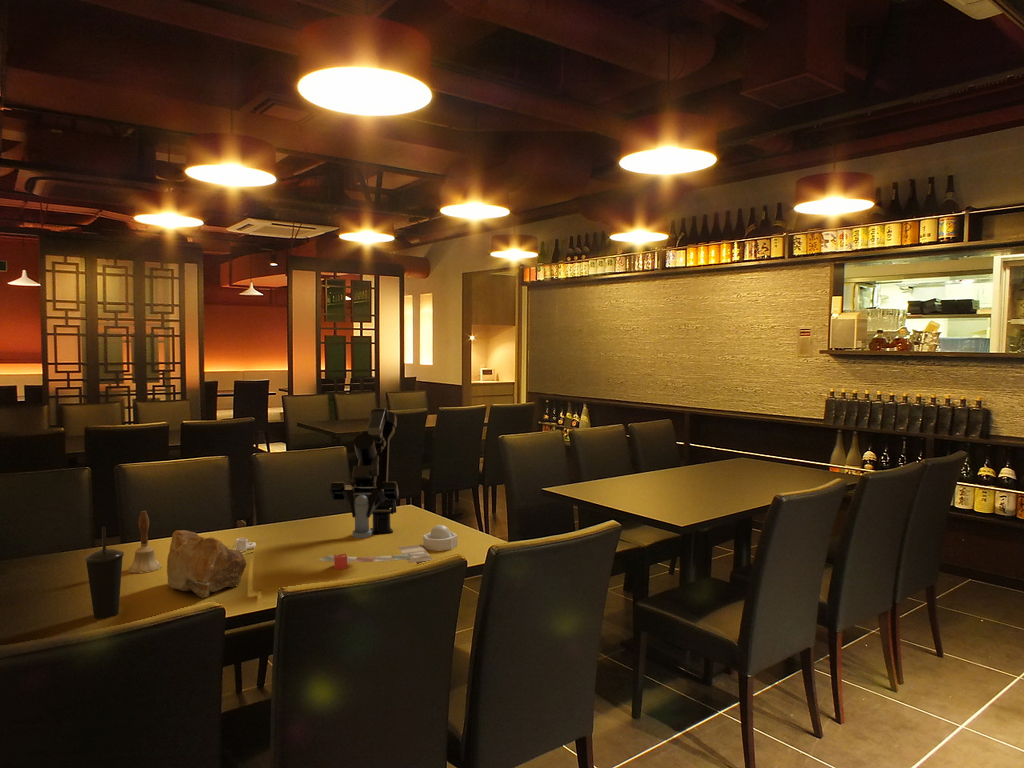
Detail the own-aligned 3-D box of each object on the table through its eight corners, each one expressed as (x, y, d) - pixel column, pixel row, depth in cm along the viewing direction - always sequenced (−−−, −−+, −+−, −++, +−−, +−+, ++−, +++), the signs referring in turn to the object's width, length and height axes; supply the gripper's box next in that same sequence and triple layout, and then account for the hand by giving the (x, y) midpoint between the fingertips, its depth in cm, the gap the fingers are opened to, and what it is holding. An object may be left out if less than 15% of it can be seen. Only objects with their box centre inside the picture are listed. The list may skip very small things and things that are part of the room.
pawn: (349, 534, 194) (348, 494, 194) (366, 532, 197) (366, 492, 197) (357, 539, 190) (356, 497, 189) (374, 536, 193) (374, 495, 192)
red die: (333, 566, 188) (333, 554, 188) (345, 565, 189) (345, 553, 189) (335, 569, 185) (334, 557, 185) (347, 568, 186) (347, 556, 186)
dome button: (426, 542, 213) (425, 523, 213) (448, 540, 216) (448, 521, 215) (431, 549, 206) (431, 529, 206) (455, 546, 209) (454, 527, 209)
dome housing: (421, 543, 214) (421, 533, 214) (451, 540, 217) (451, 530, 217) (428, 551, 205) (428, 541, 205) (459, 548, 208) (459, 538, 208)
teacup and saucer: (252, 546, 212) (251, 533, 212) (263, 552, 207) (263, 538, 207) (223, 552, 206) (222, 539, 206) (234, 558, 201) (233, 544, 200)
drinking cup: (113, 621, 153) (110, 531, 152) (78, 621, 153) (75, 531, 152) (132, 608, 161) (130, 522, 160) (100, 608, 161) (97, 522, 160)
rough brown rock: (261, 595, 171) (264, 535, 172) (190, 606, 160) (194, 542, 161) (226, 576, 188) (228, 521, 189) (160, 585, 177) (163, 526, 178)
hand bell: (168, 565, 193) (167, 508, 192) (144, 575, 185) (142, 515, 184) (145, 562, 195) (143, 506, 195) (120, 571, 188) (118, 513, 187)
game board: (316, 558, 199) (316, 554, 199) (420, 547, 209) (420, 543, 209) (321, 575, 184) (321, 571, 184) (433, 563, 194) (433, 559, 194)
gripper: (330, 453, 196) (321, 501, 186) (396, 453, 197) (391, 500, 186) (336, 476, 204) (328, 523, 194) (400, 475, 205) (396, 522, 194)
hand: (360, 516), depth 192 cm, fingers closed on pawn, 4 cm apart
